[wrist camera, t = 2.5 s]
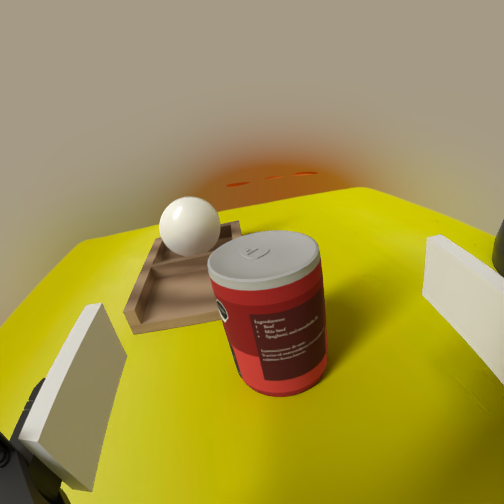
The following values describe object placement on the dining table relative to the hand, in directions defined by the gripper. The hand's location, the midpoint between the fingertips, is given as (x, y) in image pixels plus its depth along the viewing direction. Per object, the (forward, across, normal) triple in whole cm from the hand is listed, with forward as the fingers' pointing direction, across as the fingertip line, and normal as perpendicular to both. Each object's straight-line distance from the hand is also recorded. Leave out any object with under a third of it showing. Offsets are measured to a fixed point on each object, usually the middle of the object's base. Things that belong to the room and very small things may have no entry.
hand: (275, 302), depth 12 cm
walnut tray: (+30, -8, -13) cm, 34 cm away
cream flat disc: (+35, -8, -12) cm, 38 cm away
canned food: (+10, 0, -14) cm, 17 cm away
